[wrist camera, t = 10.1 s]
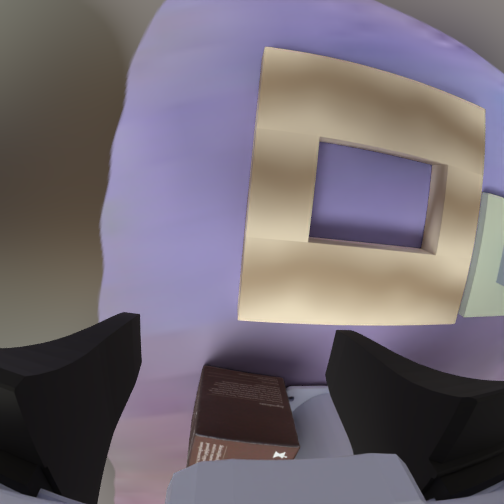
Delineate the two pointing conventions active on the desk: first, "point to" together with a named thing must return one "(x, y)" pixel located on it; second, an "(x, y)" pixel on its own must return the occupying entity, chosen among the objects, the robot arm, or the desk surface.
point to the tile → (486, 262)
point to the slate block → (501, 271)
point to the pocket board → (303, 183)
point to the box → (241, 418)
